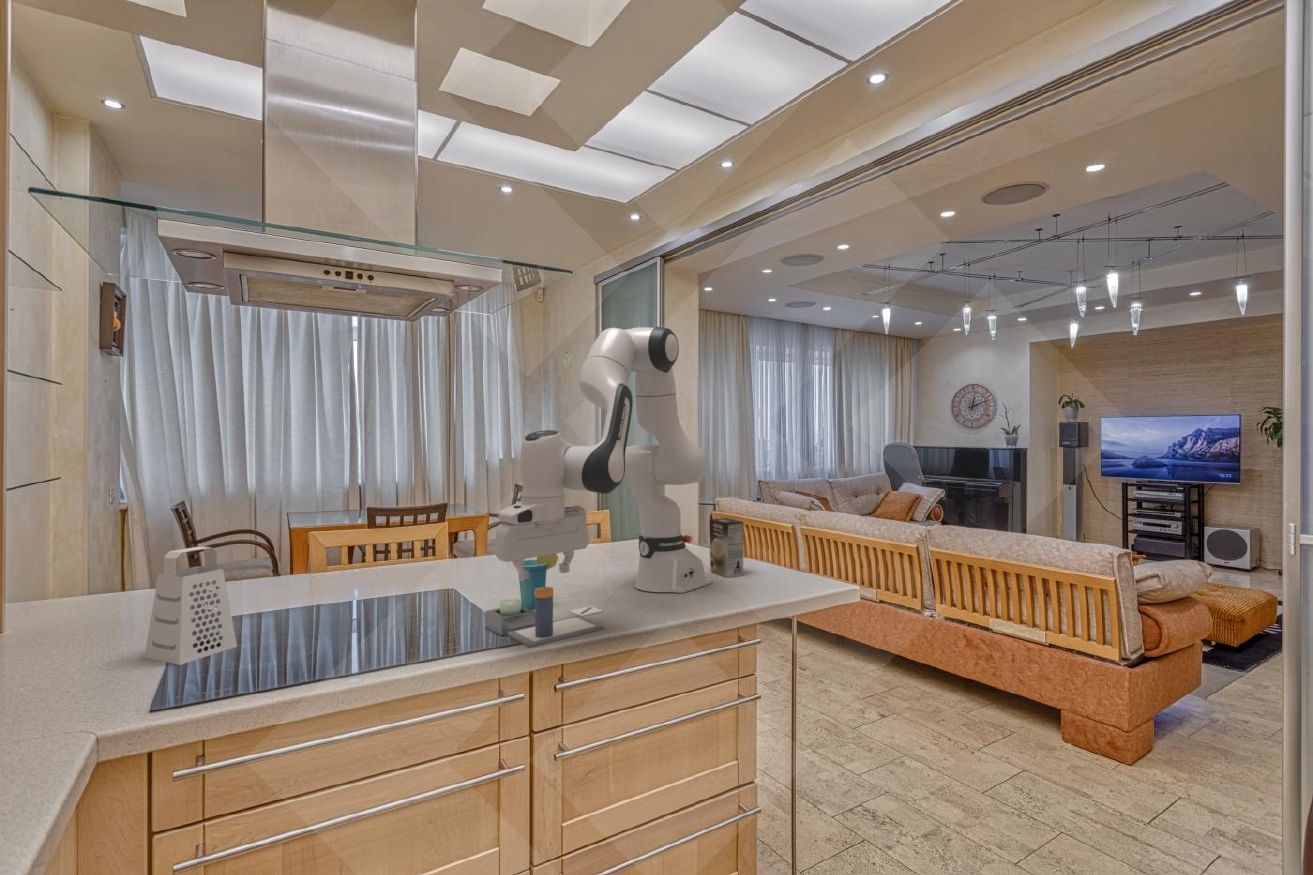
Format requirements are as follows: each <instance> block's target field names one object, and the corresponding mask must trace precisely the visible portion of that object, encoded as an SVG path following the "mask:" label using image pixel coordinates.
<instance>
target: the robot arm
mask: <svg viewBox="0 0 1313 875" xmlns="http://www.w3.org/2000/svg"><path fill="white" fill-rule="evenodd" d="M679 350H680V348H679V340H678V338H677V335H676V333H674V331H673V330H672V329H670V328H668V327H663V326H655V327H648V326H647V327H645V326H644V327H642V326H640V327H639V326H638V327H633V328H627V329H623V328H619V327H609V328H605V329H604V330H602V332H600V334H599V335H598V336H597V338H596V339H595V341H594V343H593V344H592V345H591V348H590V349H589V351H588V353H587V356H586V357H585V360H584V362H583V364H582V365H583V366H582V368H581V370H580V373H579V378H578V383H579V388H580V391H581V393H582V394H583V395H584V398H586V400H588V401H589V402H591V403H592V404H593V405H595V406H597V407H598V408H601V409H603V410H605V411H606V416H605V421H604V426H603V430H602V431H603V432H602V436H601V437H602V438H601V440H600V441H599V442H598V443H596V444H593V445H577V444H574V445H573V444H572V443H569V442H568V441H566V440H565V439H563V437H561V433H560V432H559V431H557V430H555V429H554V430H551V429H550V430H548V429H547V430H545V429H544V430H541V431H540V430H539V431H533V432H531V433H528V434H527V435H526V436H524V438H523V440H522V444H521V448H520V449H521V450H520V461H519V462H520V463H519V464H520V477H521V481H522V489H521V494H520V501H518V502H516V503H514V504H512V505H510V506H508V507H505V508H503V509H501V510H499V511H498V514H497V516H498V520H499V521H501V523H499V525H498V526H497V529H496V530H495V537H494V538H495V541H494V554H495V557H496V558H497V559H498V560H499V561H502V562H505V563H509V562H512V565H513V566H514V568H515V569H516V571H517V572H518V581H519V580H520V581H527V580H529V572H528V571H525V570H524V569H523V567H522V565H523V564H524V561H525V560H526V559H527V560H528V559H533V558H537V557H539V556H545V555H551V554H560V553H561V554H562V555H564V558H563V560H562V563H561V562H560V563H559V564H558V567H559V569H558V570H559V573H560V574H566V573H570V564H571V563H572V561H573V558H574V556H575V551H578V550H585V549H587V546H589V544H590V541H589V540H590V537H589V530H588V529H589V528H588V525H587V511H586V509H585V508H584V507H582V506H580V505H574V506H566V499H565V497H566V496H565V494H566V493H565V490H572V491H586V492H592V493H597V494H603V495H605V494H609V493H610V494H611V493H612V492H613V491H615V490H616V489H617V488H618V486H619V485H620V484H621V483H622V482H624V483H625V484H626V485H627V486H628V487H629V489H630V490H631V492H632V493H633V495H634V497H635V498H636V501H637V504H638V511H639V524H640V526H639V527H640V530H639V531H640V534H639V535H638V549H639V550H638V551H639V560H638V570H637V575H636V581H635V583H634V587H635V588H636V589H638V590H640V591H644V592H651V593H679V594H684V593H688V592H690V591H692V590H696V589H699V588H701V587H705V586H707V585H710V584H713V582H714V579H713V578H712V577H710V576H708V575H705V566H704V563H703V561H702V559H700V558H699V557H698V556H697V555H695V554H694V553H693V552H692V551H691V550H689V549H688V548H687V546H686V544H685V543H688V544H691V543H692V542H693V536H691V535H687V534H685V535H682V534H681V528H682V527H681V508H680V506H679V504H678V503H677V502H676V501H674V499H671V497H668V496H667V495H665V494H664V492H663V489H662V487H661V485H663V486H665V485H668V486H670V485H672V486H673V485H674V486H683V485H689V484H694V483H699V482H700V481H701V480H702V478H703V477H704V476H705V474H706V470H707V459H706V456H705V454H704V451H702V450H701V449H700V448H699V446H696V445H695V444H694V443H693V442H692V441H691V440H690V439H689V438H688V436H687V435H686V434H685V432H684V430H683V428H682V426H681V422H680V418H679V412H678V411H679V410H678V404H677V403H678V402H677V401H678V400H677V389H676V387H677V386H676V379H675V375H674V370H673V366H674V365H675V363H676V362H677V359H678V357H679ZM631 373H635V374H634V375H635V376H634V396H635V397H634V398H635V409H636V410H635V411H636V421H637V424H638V425H639V426H640V428H642V430H644V431H646V432H647V433H649V434H651V435H652V436H653V437H654V438H655V439H656V441H657V444H635V445H629V446H627V444H628V437H629V432H630V425H631V421H632V412H633V405H634V399H633V393H632V391H631V389H630V388H629V387H628V381H629V378H630V376H631Z"/></svg>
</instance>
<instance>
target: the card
mask: <svg viewBox="0 0 1313 875" xmlns="http://www.w3.org/2000/svg"><path fill="white" fill-rule="evenodd" d="M603 612H604V610H603V609H602V610H601V609H599V608H597V607H594V606H592V605H591V606H586V607H581V608H577V609H572V610H570V611H569V613H571V614H574V615H576V616H581V617H587V616H591V615H592V616H593V615H597V614H600V613H603Z"/></svg>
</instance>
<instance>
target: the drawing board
mask: <svg viewBox="0 0 1313 875" xmlns="http://www.w3.org/2000/svg"><path fill="white" fill-rule="evenodd" d="M604 629H605V625H603V624H602V623H601V624H600V623H598V622H596V621H593V620H591V619H589V618H587V617H586V618H585V616H583V617H581V616H578V615H576V616H575V615H574V616H571V617H567V618H562V619H558V620H553V635H552V636H550V637H546V638H539V637H536V636H535V626H531V627H527V628H522V629H518V630H513V631H509V632H506V635H505V636H507V635H508V637H509V638H511V639H513V640H515V641H516V642H518V643H520V644H522V645H524V646H525V647H527V648H533V647H537V646H541V645H545V644H548V643H553V642H556V641H557V642H558V641H560V640H563V639H569V638H573V637H575V636H576V637H577V636H579V635H585V634H588V633H591V632H596V631H600V630H604Z"/></svg>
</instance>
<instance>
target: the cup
mask: <svg viewBox="0 0 1313 875" xmlns="http://www.w3.org/2000/svg"><path fill="white" fill-rule="evenodd" d="M558 560H559V557H558V553H556V554H551V555H545V556H539V557H536V559H527V560H526V559H525V560H524V564H523V565H522V567H523V569H524V570H525V571H528V572H529V580H527V581H520V580H519V579H518V581H519V591H520V592H519V593H520V601H521V606H523V607H526V608H528V609H530V610H535V589H536V588H539V587H546V580H547V572H548V570H549V569H551V568H553V567H556V564H557V562H558Z"/></svg>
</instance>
